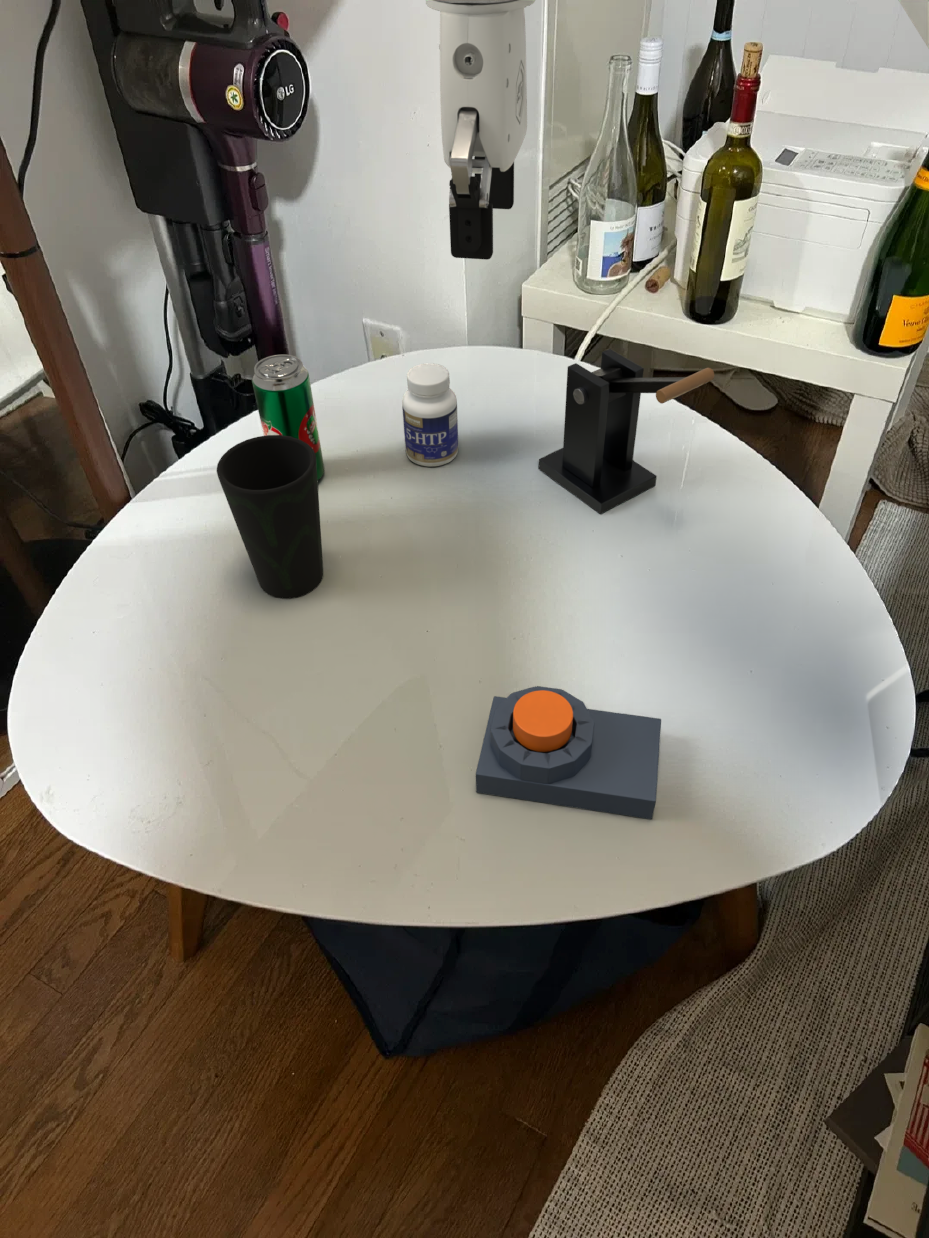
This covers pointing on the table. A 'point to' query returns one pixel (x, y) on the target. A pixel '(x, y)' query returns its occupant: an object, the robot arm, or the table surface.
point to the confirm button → (542, 721)
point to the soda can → (287, 401)
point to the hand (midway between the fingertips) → (483, 231)
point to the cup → (276, 511)
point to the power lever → (652, 384)
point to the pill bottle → (430, 416)
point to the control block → (574, 760)
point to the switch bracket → (599, 439)
